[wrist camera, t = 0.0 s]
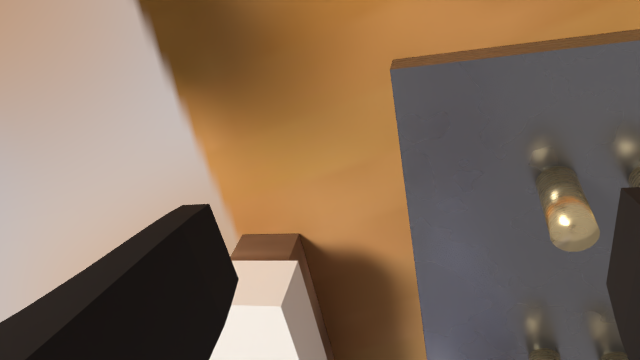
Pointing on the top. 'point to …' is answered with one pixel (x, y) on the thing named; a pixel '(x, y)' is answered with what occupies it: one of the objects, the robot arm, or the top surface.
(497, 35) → the top surface
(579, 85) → the plate
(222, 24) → the top surface
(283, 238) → the brown rectangular block
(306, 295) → the board
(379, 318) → the top surface
